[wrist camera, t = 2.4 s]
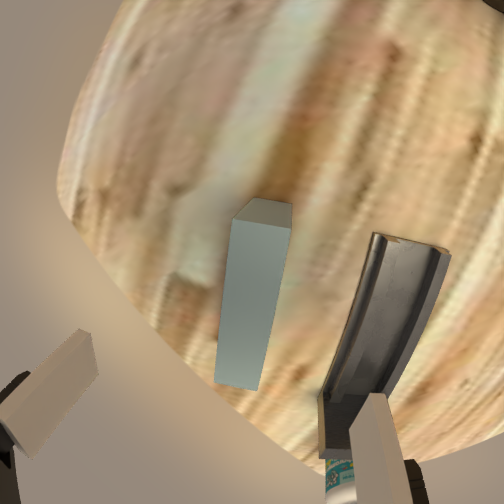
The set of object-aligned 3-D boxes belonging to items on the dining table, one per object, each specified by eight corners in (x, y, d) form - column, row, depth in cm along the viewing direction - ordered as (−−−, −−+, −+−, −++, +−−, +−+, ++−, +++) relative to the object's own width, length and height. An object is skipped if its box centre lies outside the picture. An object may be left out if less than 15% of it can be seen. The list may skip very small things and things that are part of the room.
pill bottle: (358, 412, 30) (371, 504, 17) (387, 431, 31) (402, 511, 18) (313, 437, 32) (311, 523, 20) (345, 454, 33) (349, 530, 21)
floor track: (373, 232, 23) (408, 268, 15) (446, 249, 23) (495, 286, 15) (317, 399, 30) (318, 458, 22) (378, 403, 29) (391, 458, 21)
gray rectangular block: (254, 197, 24) (232, 218, 16) (291, 203, 24) (291, 229, 15) (236, 320, 28) (213, 382, 20) (268, 326, 28) (257, 391, 19)
